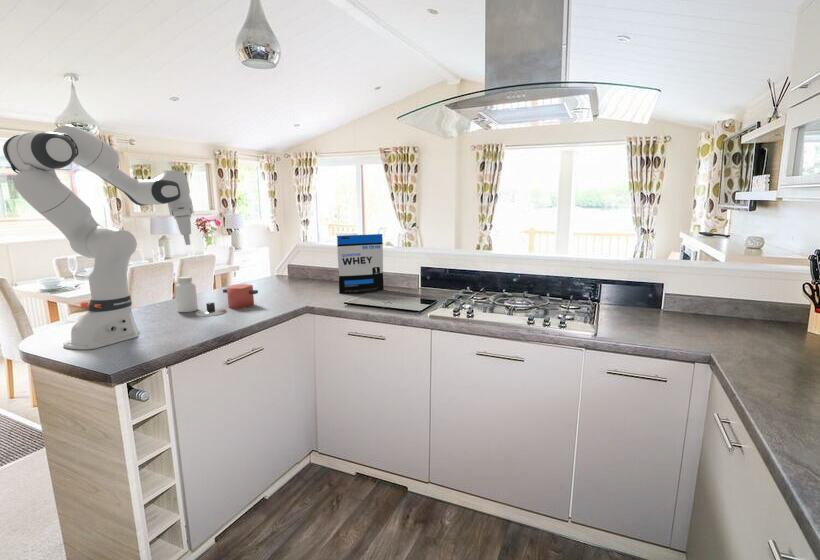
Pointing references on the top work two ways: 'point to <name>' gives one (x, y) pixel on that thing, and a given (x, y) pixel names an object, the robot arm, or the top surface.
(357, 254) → the protein powder
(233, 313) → the top surface
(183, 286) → the pill bottle
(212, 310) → the lid
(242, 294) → the pot
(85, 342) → the robot arm
